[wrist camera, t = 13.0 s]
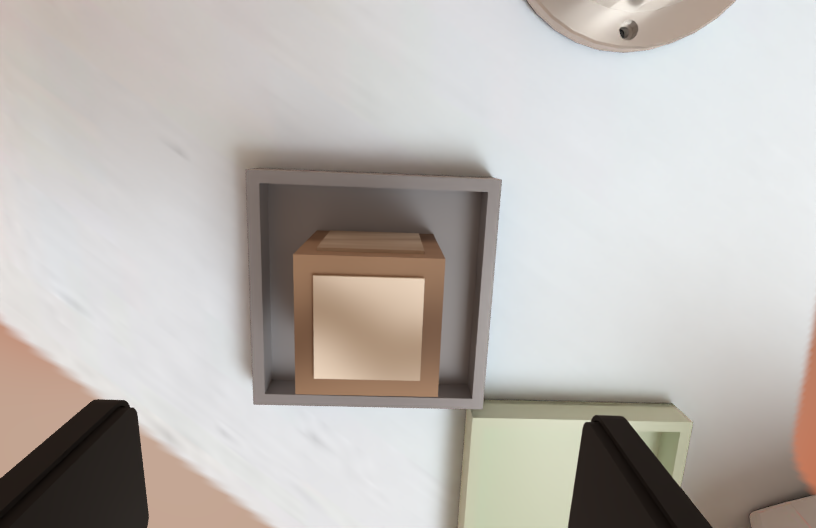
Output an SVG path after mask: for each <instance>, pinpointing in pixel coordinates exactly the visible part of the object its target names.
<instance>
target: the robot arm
mask: <svg viewBox="0 0 816 528" xmlns="http://www.w3.org/2000/svg"><path fill="white" fill-rule="evenodd" d="M527 1H528V3H529V4H530V5H531V7H532V8H533V9H534V11H535V12H536V13H537V14H538V15H539V16H540V17H541V18H542V19H543V20H544V21H545V22H547V23H548V24H549V25H550V26H551V27H552V28H553V29H554V30H556V31H557V32H559V33H561V34H562V35H564V36H566V37H568V38H569V39H571V40H573V41H574V42H576V43H579V44H582V45H585V46H588V47H591V48H594V49H597V50H602V51H612V52H622V53H626V52H635V51H645V50H650V49H654V48H657V47H660V46H663V45H666V44H670V43H673V42H675V41H677V40H679V39H682V38H684V37H686V36H688V35H691V34H693V33H695V32H697V31H698V30H700V29H701V28H703V27H704V26H706V25H707V24H709V23H710V22H712V21H713V20H715V19H717V18H718V17H719V16H720V15H721V14H722V13H723V12H724V11H725V10H726V9H728V8H729V7H730V6H731V5H732V4H733V3H734V2H735V1H736V0H527ZM619 29H621V30H623V31H624V35H625V36H624V38H622V37H621V36H620V32H619ZM148 516H149V514H148V506H147V497H146V487H145V478H144V470H143V461H142V452H141V443H140V434H139V425H138V416H137V411H136V410H135V409H134V408H130V406H129V404H128V402H126V401H125V400H99V399H98V400H93V401H92V402H90V403H89V404H88V405H87V406H86V407H84V408H83V409H82V410H81V411H80V412H78V413H77V414H76V415H75V416H74V417H72V418H71V419H70V420H69V421H68V422H67V423H65V424H64V425H63V426H62V427H61V428H59V429H58V430H57V431H56V432H55V433H54V434H52V435H51V436H50V437H49V438H48V439H46V440H45V441H44V442H43V443H42V444H41V445H39V446H38V447H37V448H36V449H35V450H33V451H32V452H31V453H30V454H29V455H28V456H26V457H25V458H24V459H23V460H22V461H21V462H19V463H18V464H17V465H16V466H15V467H13V468H12V469H11V470H10V471H9V472H8V473H6V474H5V475H4V476H3V477H2V478H0V528H147V525H148V519H149V517H148ZM568 528H712V526H711V525H710V524H709V523H708V521H707V520H706V519H705V518H704V516H703V515H702V514H701V513H700V511H699V510H698V509H697V508H696V506H695V505H694V504H693V503H692V501H691V500H690V499H689V498H688V496H687V495H686V494H685V492H684V491H683V490H682V489H681V487H680V486H679V485H678V484H677V482H676V481H675V480H674V479H673V477H672V476H671V475H670V474H669V472H668V471H667V470H666V469H665V467H664V466H663V465H662V464H661V462H660V461H659V460H658V458H657V457H656V456H655V455H654V453H653V452H652V451H651V450H650V448H649V447H648V446H647V445H646V443H645V442H644V441H643V440H642V438H641V437H640V436H639V435H638V433H637V432H636V431H635V430H634V428H633V427H632V426H631V425H630V423H629V422H628V421H627V419H626V418H624V417H623V416H611V415H595V416H593V418H592V419H591V422H585V423H584V425H583V429H582V435H581V442H580V449H579V455H578V462H577V469H576V475H575V482H574V489H573V495H572V502H571V509H570V515H569V522H568Z"/></svg>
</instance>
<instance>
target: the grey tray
mask: <svg viewBox="0 0 816 528" xmlns="http://www.w3.org/2000/svg"><path fill="white" fill-rule="evenodd" d="M501 183H502V180H501V179H497V178H490V177H465V176H440V175H415V174H390V173H365V172H341V171H316V170H291V169H266V168H254V169H246V196H247V226H248V255H249V285H250V315H251V345H252V374H253V404H256V405H302V406H348V407H394V408H440V409H483V400H484V388H485V376H486V364H487V352H488V340H489V328H490V316H491V304H492V292H493V280H494V268H495V256H496V244H497V232H498V220H499V208H500V196H501ZM316 230H321V231H330V230H333V231H365V232H397V233H419V234H434V237H435V239H436V241H437V243H438V245H439V247H440V249H441V251H442V253H443V255H444V257H445V276H444V295H443V313H442V331H441V349H440V367H439V385H438V397H414V396H362V395H309V394H295V341H294V282H293V254H294V253H295V252H296V251H297V250H298V249H299V248H300V247H301V246H302V245H303V244H304V243H305V242H306V241H307V240H308V239H309V238H310V237H311V236H312V235H313V234H314V233H315V232H316Z"/></svg>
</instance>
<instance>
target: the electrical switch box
mask: <svg viewBox="0 0 816 528" xmlns="http://www.w3.org/2000/svg"><path fill="white" fill-rule="evenodd" d="M749 519H750V524H751V528H816V495H813V496H808V497H804V498H800V499H796V500H792V501H787V502H784V503H780V504H777V505H773V506H770V507H767V508H763V509H760V510H756V511H753V512H752V513H751V514H750V517H749Z"/></svg>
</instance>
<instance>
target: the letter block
mask: <svg viewBox="0 0 816 528" xmlns="http://www.w3.org/2000/svg"><path fill="white" fill-rule="evenodd" d="M444 276H445V257H444V255H443V253H442V251H441V249H440V247H439V245H438V243H437V241H436V239H435V237H434V234H419V233H397V232H365V231H333V230H330V231H321V230H316V232H315V233H314V234H313V235H312V236H311V237H310V238H309V239H308V240H307V241H306V242H305V243H304V244H303V245H302V246H301V247H300V248H299V249H298V250H297V251H296V252H295V253H294V254H293V282H294V341H295V394H309V395H362V396H414V397H438V385H439V367H440V349H441V331H442V313H443V295H444Z"/></svg>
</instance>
